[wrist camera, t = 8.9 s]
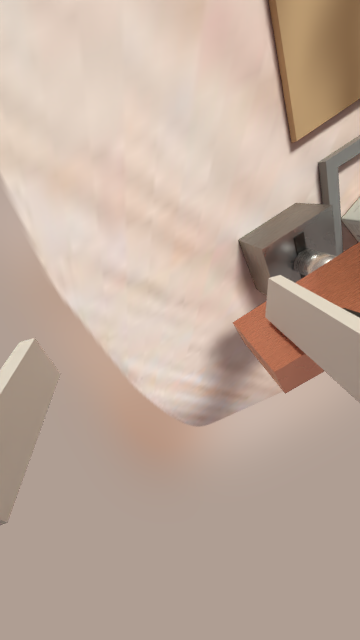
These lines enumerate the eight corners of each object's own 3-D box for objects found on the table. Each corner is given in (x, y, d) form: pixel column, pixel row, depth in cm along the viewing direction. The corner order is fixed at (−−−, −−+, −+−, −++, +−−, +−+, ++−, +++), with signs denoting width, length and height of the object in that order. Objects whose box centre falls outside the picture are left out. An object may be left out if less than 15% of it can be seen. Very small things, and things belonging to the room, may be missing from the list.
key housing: (295, 203, 19) (333, 204, 15) (305, 258, 22) (338, 270, 19) (238, 240, 19) (262, 249, 16) (256, 288, 23) (279, 305, 19)
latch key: (217, 304, 17) (274, 372, 11) (330, 230, 16) (473, 255, 10) (228, 322, 19) (285, 393, 12) (333, 255, 18) (461, 292, 11)
